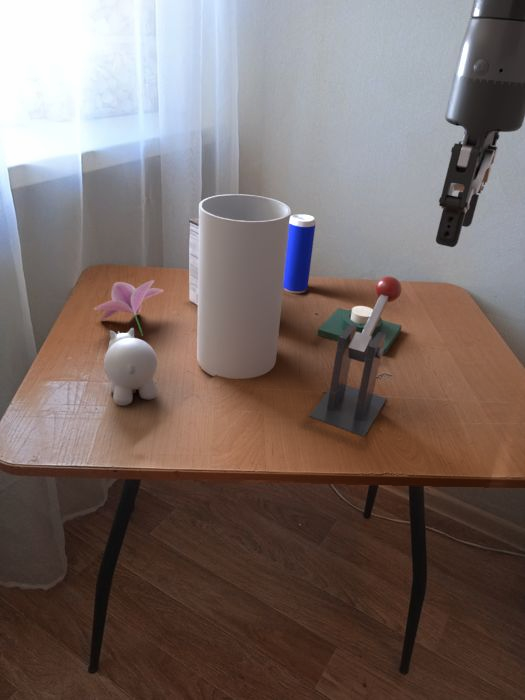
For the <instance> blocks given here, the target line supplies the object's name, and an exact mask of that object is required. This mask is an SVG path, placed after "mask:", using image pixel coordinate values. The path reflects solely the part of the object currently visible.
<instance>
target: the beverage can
mask: <svg viewBox="0 0 525 700" xmlns="http://www.w3.org/2000/svg"><path fill="white" fill-rule="evenodd" d="M315 231H316V219H315V217H314V216H312V215H310V214H305V213H295V214H292V215H290V223H289V233H288V243H287V253H286V263H285V274H284V284H283V290H284V291H286V292H287V293H290V294H302V293H305V292H306V291H307V290H308V288H309V279H310V274H311V273H310V272H311V263H312V256H313V255H312V254H313V247H314V238H315Z"/></svg>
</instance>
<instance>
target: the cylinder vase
mask: <svg viewBox="0 0 525 700" xmlns="http://www.w3.org/2000/svg"><path fill="white" fill-rule="evenodd" d="M198 203H199V204H198V218H199V244H198V305H197V316H196V317H197V321H196V323H197V324H196V325H197V326H196V327H197V328H196V329H197V330H196V331H197V332H196V335H197V336H196V360H197V363H198V365H199V367H200V368H201V369H202V370H203V371H204V372H205V373H207V374H208V375H210V376H211V377H213V378H214V377H216V376H218V377H221V378H227V379H234V380H236V379H237V380H243V379H244V380H245V379H246V380H247V379H253V378H256V377H261V376H263V375H265V374H267V373H268V372H270V371H271V370H272V369H273V368H274V367H275V365H276V361H277V354H278V353H277V352H278V343H279V335H280V334H279V333H280V323H281V313H282V302H283V292H284V288H283V284H284V274H285V263H286V253H287V243H288V233H289V223H290V217H291V213H292V211H291V208H290V206H289V205H287V203H284V202H282V201H279V200H277V199H274V198H271V197H270V198H269V197H266V196H263V195H254V194H245V193H244V194H242V193H241V194H240V193H234V194H233V193H232V194H231V193H229V194H228V193H227V194H218V195H213V196H209V197H206V198H204V199H202V200H201V201H200V202H198Z"/></svg>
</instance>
